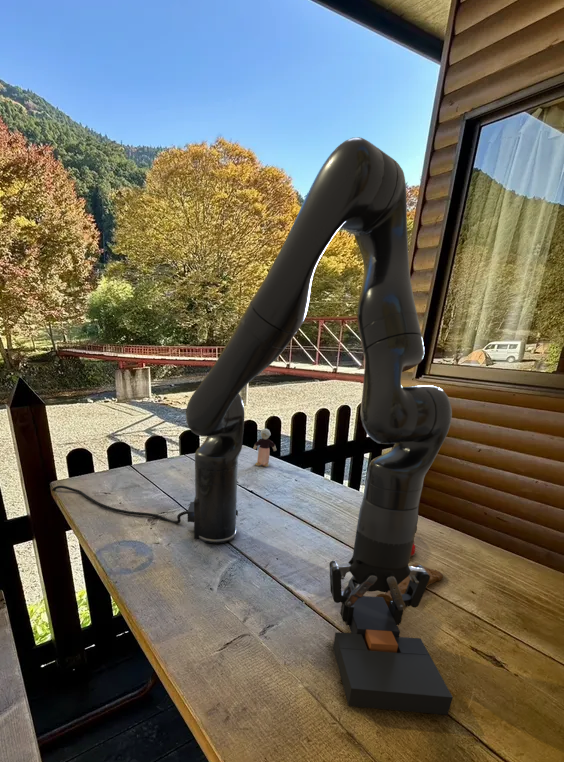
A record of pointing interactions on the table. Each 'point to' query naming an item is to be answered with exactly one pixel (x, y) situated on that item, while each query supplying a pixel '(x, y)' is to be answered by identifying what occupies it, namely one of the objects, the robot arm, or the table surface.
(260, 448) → the grandmother figurine
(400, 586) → the primitive tool
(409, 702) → the black pad
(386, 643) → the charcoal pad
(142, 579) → the table surface
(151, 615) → the table surface
